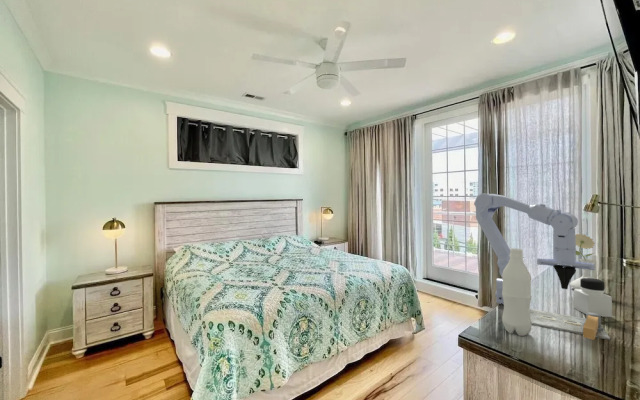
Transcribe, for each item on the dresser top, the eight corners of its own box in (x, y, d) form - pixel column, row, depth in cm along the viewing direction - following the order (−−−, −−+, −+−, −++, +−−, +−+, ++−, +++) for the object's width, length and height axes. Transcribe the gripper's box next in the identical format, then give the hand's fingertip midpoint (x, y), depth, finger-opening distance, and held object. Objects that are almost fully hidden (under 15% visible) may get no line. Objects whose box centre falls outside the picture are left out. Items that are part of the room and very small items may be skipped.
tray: (530, 324, 88) (530, 321, 88) (527, 309, 100) (527, 307, 100) (611, 340, 78) (611, 336, 78) (597, 322, 90) (597, 319, 90)
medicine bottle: (612, 317, 93) (612, 282, 93) (588, 315, 95) (587, 281, 95) (596, 309, 100) (596, 276, 100) (573, 308, 102) (573, 275, 102)
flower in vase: (613, 295, 115) (613, 236, 115) (586, 295, 115) (586, 236, 116) (584, 286, 128) (584, 232, 128) (559, 285, 128) (559, 232, 129)
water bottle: (523, 340, 78) (523, 252, 78) (497, 329, 84) (497, 248, 84) (536, 334, 81) (536, 250, 81) (510, 324, 88) (510, 246, 88)
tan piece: (596, 341, 75) (596, 329, 75) (580, 337, 77) (580, 325, 77) (601, 324, 85) (601, 314, 85) (587, 321, 87) (587, 311, 87)
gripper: (538, 247, 94) (538, 287, 94) (597, 252, 86) (597, 295, 86) (536, 245, 100) (536, 282, 100) (591, 249, 92) (591, 289, 92)
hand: (564, 288), depth 93 cm, fingers closed
